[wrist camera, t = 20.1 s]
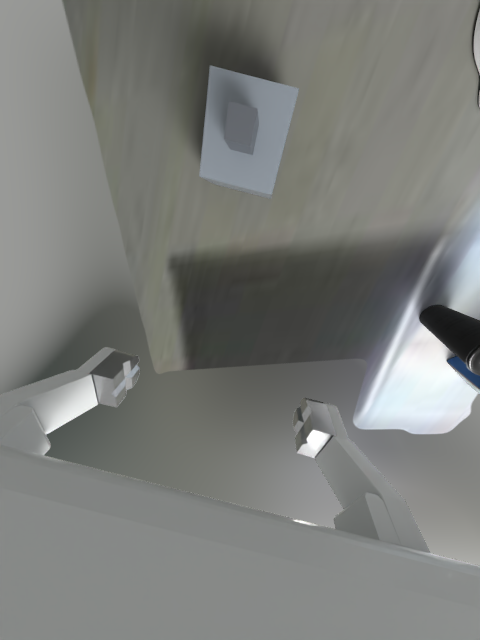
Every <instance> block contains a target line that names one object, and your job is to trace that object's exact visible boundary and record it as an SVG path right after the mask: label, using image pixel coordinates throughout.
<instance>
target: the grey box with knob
mask: <svg viewBox="0 0 480 640" xmlns="http://www.w3.org/2000/svg"><path fill="white" fill-rule="evenodd" d="M298 91H299V88H295V87H291V86H287V85H283V84H280V83H276V82H272V81H268V80H264V79H260V78H257V77H253V76H249V75H245V74H241V73H237V72H234V71H230V70H226V69H222V68H218V67H215V66H211V65H210V71H209V81H208V92H207V102H206V113H205V123H204V134H203V144H202V155H201V165H200V175H199V176H200V177H202V178H204V179H206V180H207V181H209V182H211V183H213V184H216V185H219V186H223V187H227V188H231V189H235V190H239V191H243V192H246V193H250V194H254V195H258V196H262V197H266V198H270V199H271V196H272V192H273V188H274V184H275V180H276V176H277V172H278V168H279V165H280V161H281V157H282V153H283V149H284V145H285V141H286V137H287V134H288V130H289V126H290V122H291V118H292V114H293V110H294V106H295V103H296V99H297V95H298Z"/></svg>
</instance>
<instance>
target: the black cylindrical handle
mask: <svg viewBox="0 0 480 640" xmlns="http://www.w3.org/2000/svg"><path fill="white" fill-rule="evenodd" d="M420 322H421V323H422V324H423V325H424V326H425V327H426V328H427V329H428V330H429V331H431V332H432V333H433V334H434V335H435V336H436V337H437V338H438V339H439V340H440V341H441V342H442V343H443V344H445V345H446V346H447V347H448V348H449V349H450V350H451V351H452V352H453V353H454V354H455V355H456V356H457V357H459V358H460V359H461V360H462V361H463V362H464V363H465V364H466V366H467V368H468V369H469V370H470V371H471V372H472V373H474V374H476V375H479V376H480V321H479V320H477V319H474V318H472V317H469V316H467V315H464V314H462V313H459V312H457V311H454V310H452V309H449V308H447V307H444V306H442V305H434V306H431V307H429V308H427V309H425V310H424V311H423V312H422V314H421V315H420Z"/></svg>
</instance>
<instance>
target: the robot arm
mask: <svg viewBox="0 0 480 640" xmlns="http://www.w3.org/2000/svg"><path fill="white" fill-rule="evenodd" d="M474 56H475V61H476V65H477V68H478V71H479V74H480V10H479V14H478V18H477V22H476V27H475V34H474ZM479 107H480V92H479ZM138 362H139V357H138V356H137V355H134V354H130V353H126V352H123V351H119V350H115V349H112V348H107V347H106V348H103V349H101V350H100V351H99V352H98V353H97V354H95V355H94V356H93V357H92V358H91V359H89V360H88V361H87V362H86V363H84V364H83V365H82V366H81V367H80V368H78V369H77V370H70V371H68V372H65V373H62V374H59V375H56V376H53V377H50V378H47V379H44V380H41V381H38V382H35V383H33V384H30V385H27V386H24V387H21V388H18V389H15V390H12V391H9V392H6V393H4V394H0V640H480V566H479V565H475V564H471V563H467V562H463V561H460V560H456V559H451V558H448V557H444V556H440V555H435V554H432V553H430V551H429V549H428V547H427V545H426V542H425V540H424V538H423V536H422V534H421V532H420V530H419V528H418V526H417V524H416V522H415V520H414V518H413V515H412V513H411V511H410V509H409V507H408V505H407V503H406V501H405V500H404V499H403V498H402V497H401V495H400V494H399V493H398V492H397V491H396V490H395V489H394V487H393V486H392V485H391V484H390V483H389V482H388V481H387V480H386V479H385V477H384V476H383V475H382V474H381V473H380V472H379V470H378V469H377V468H376V467H375V466H374V465H373V464H372V463H371V462H370V461H369V459H368V458H367V457H366V456H365V455H364V454H363V452H362V451H361V450H360V449H359V448H358V447H357V446H356V445H355V443H354V442H353V441H351V440H349V439H348V436H347V433H346V430H345V428H344V425H343V422H342V420H341V417H340V414H339V411H338V409H337V407H336V406H335V405H332V404H328V403H323V402H320V401H316V400H312V399H307V398H303V399H302V400H301V402H300V407H299V408H297V409H296V410H295V412H294V416H293V428H294V430H295V431H296V433H297V435H296V437H295V444H296V452H297V453H299V454H302V455H306V456H310V457H313V458H315V460H316V462H317V464H318V466H319V467H320V469H321V471H322V473H323V474H324V476H325V478H326V480H327V481H328V483H329V485H330V487H331V488H332V490H333V492H334V494H335V495H336V497H337V499H338V501H339V502H340V504H341V506H342V507H343V509H344V510H343V511H341V512H340V513H339V514H337V515H336V516H335V518H334V524H335V529H333V528H328V527H325V526H321V525H317V524H313V523H309V522H305V521H301V520H297V519H293V518H289V517H285V516H281V515H277V514H274V513H270V512H265V511H262V510H258V509H254V508H249V507H246V506H242V505H238V504H234V503H230V502H226V501H221V500H218V499H214V498H210V497H206V496H202V495H198V494H194V493H190V492H186V491H182V490H179V489H174V488H170V487H167V486H163V485H159V484H155V483H151V482H147V481H143V480H139V479H135V478H131V477H127V476H123V475H119V474H115V473H111V472H107V471H103V470H99V469H95V468H91V467H87V466H83V465H79V464H75V463H71V462H67V461H64V460H60V459H56V458H52V457H47V456H44V454H45V453H46V452H47V451H48V450H49V449H50V445H51V444H50V442H49V440H48V438H47V436H46V434H48V433H50V432H52V431H53V430H55V429H57V428H58V427H60V426H61V425H64V424H65V423H67V422H68V421H70V420H72V419H74V418H75V417H77V416H79V415H81V414H82V413H84V412H86V411H87V410H89V409H91V408H93V407H94V406H96V405H98V403H100V404H104V405H109V406H113V407H118V405H119V404H120V403H121V401H122V400H123V399H124V398H125V396H126V390H128V389H130V388H132V387H133V386H134V384H135V383H136V381H137V379H138V377H139V373H140V369H139V367H138V366H137V363H138Z"/></svg>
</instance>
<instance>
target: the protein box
mask: <svg viewBox="0 0 480 640" xmlns="http://www.w3.org/2000/svg"><path fill="white" fill-rule="evenodd" d="M447 362H448V364H449V365H450V366H451V367H452V368H453V369H454V370H455V371H456V372H457V373H458V374H459V375H460V376H461V377H462V378H463V379H464V380H465V381H466V382H467V384H469V385H470V386H471V387H472V388H473V389H475V390H476V391H477V392H478V393H479V394H480V376H479V375H476V374H474V373H472V372H471V371H470V370H469V369H468V368H467V366H466V364H465V363H464V362H463V361H462V360H461V359H460V358H459V357H457V356H455V357H453V358H451V359H449V360H447Z"/></svg>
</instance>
